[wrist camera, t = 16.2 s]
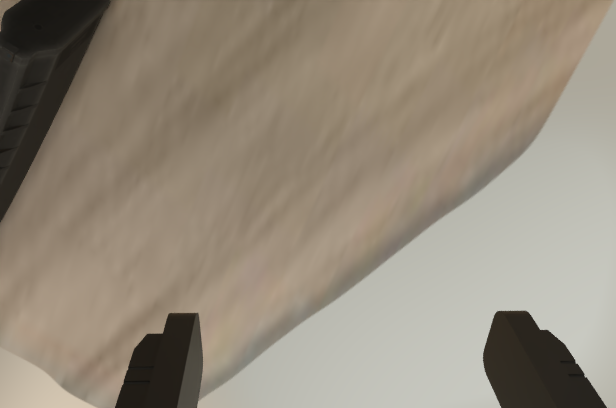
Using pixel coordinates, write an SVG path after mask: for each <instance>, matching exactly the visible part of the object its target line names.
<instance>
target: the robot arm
mask: <svg viewBox="0 0 616 408" xmlns="http://www.w3.org/2000/svg"><path fill="white" fill-rule="evenodd" d="M483 362H484V368H485V372H486V375H487V377H488V379H489V381H490V384H491V386H492V388H493V390H494V392H495V394H496V396H497V399H498V401H499V403H500V406H501V408H607V407H606V406H605V404H604V403H603V401H602V400H601V398H600V397H599V395H598V394H597V392H596V391H595V389H594V388H593V386H592V385H591V383H590V382H589V380H588V379H587V378H585V376H584V373H583V371H582V370H581V368H580V367H579V365H578V364H576V363H575V359H574V358H573V356H572V355H571V353H570V352H569V350H568V349H567V347H566V346H565V344H564V343H562V342H561V341H560V340H558V338H557V337H555V336H554V335H553V334H552V333H551V332H549V331H548V330H540V329H539V327H538V326H537V324H536V323H535V321H534V320H533V318H532V317H531V315H530V314H529V313H528V312H527V311H498V312H496V314H495V315H494V318H493V322H492V325H491V329H490V332H489V335H488V338H487V342H486V345H485V349H484V353H483ZM202 370H203V352H202V342H201V332H200V321H199V315H198V313H169V315H168V317H167V321H166V324H165V328H164V332H163V334H147V335H146V336H145V337H144V338H143V340H142V341H141V342H140V343H139V344H138V345H137V346H136V348H135V349H134V351H133V354H132V357H131V360H130V363H129V366H128V370H127V373H126V376H125V379H124V384H123V385H122V388H121V391H120V394H119V397H118V400H117V403H116V406H115V408H197V404H198V398H199V392H200V385H201V379H202Z"/></svg>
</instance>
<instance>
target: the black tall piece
mask: <svg viewBox="0 0 616 408" xmlns="http://www.w3.org/2000/svg"><path fill="white" fill-rule="evenodd" d="M109 4H110V0H21V1H20V2H18V3H17V4H15V5H14V6H13V7H11V8H10V9H8V10H7V11H6V12H5V13H4V15H3V18H2V22H1V32H0V222H1V220H2V218H3V217H4V215H5V213H6V211H7V209H8V208H9V206H10V204H11V202H12V200H13V198H14V196H15V194H16V192H17V191H18V189H19V187H20V185H21V183H22V181H23V179H24V177H25V175H26V173H27V171H28V170H29V168H30V166H31V164H32V162H33V160H34V158H35V156H36V154H37V152H38V150H39V148H40V146H41V144H42V142H43V140H44V138H45V136H46V134H47V132H48V130H49V128H50V126H51V123H52V121H53V119H54V117H55V115H56V113H57V111H58V109H59V107H60V105H61V103H62V101H63V98H64V96H65V94H66V92H67V90H68V88H69V86H70V84H71V81H72V79H73V77H74V75H75V73H76V71H77V68H78V66H79V64H80V62H81V60H82V58H83V55H84V53H85V51H86V49H87V47H88V45H89V42H90V40H91V38H92V36H93V34H94V32H95V29H96V27H97V25H98V23H99V21H100V19H101V16H102V14H103V12H104V11H105V10H106V9H107V8H108V6H109Z"/></svg>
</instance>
